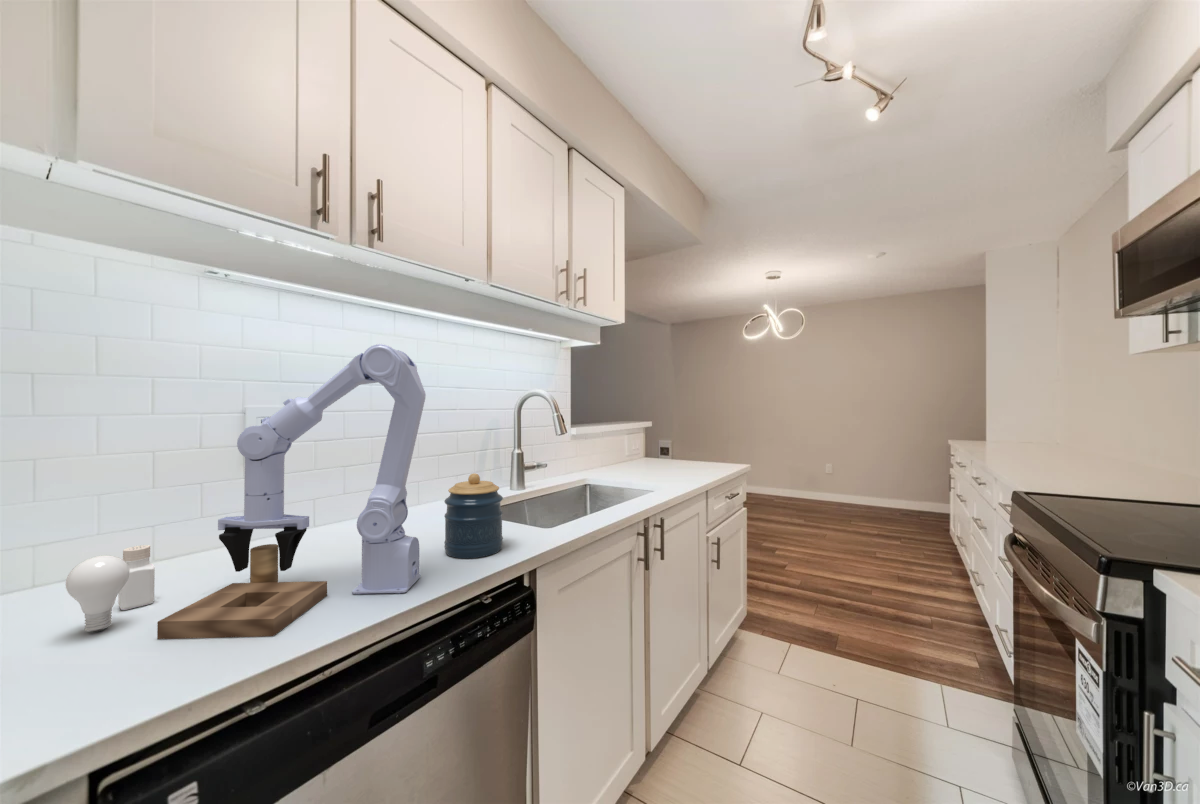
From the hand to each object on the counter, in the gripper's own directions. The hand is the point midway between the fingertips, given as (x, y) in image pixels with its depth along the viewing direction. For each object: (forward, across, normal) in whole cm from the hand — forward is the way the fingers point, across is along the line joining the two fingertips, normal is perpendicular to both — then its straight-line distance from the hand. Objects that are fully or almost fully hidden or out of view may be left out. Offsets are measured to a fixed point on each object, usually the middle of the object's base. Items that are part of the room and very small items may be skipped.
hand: (263, 569), depth 81 cm
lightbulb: (+4, +15, +13) cm, 20 cm away
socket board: (+4, -4, +9) cm, 11 cm away
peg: (+4, 0, 0) cm, 4 cm away
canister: (+4, -32, -22) cm, 39 cm away
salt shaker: (+4, +18, +4) cm, 19 cm away
